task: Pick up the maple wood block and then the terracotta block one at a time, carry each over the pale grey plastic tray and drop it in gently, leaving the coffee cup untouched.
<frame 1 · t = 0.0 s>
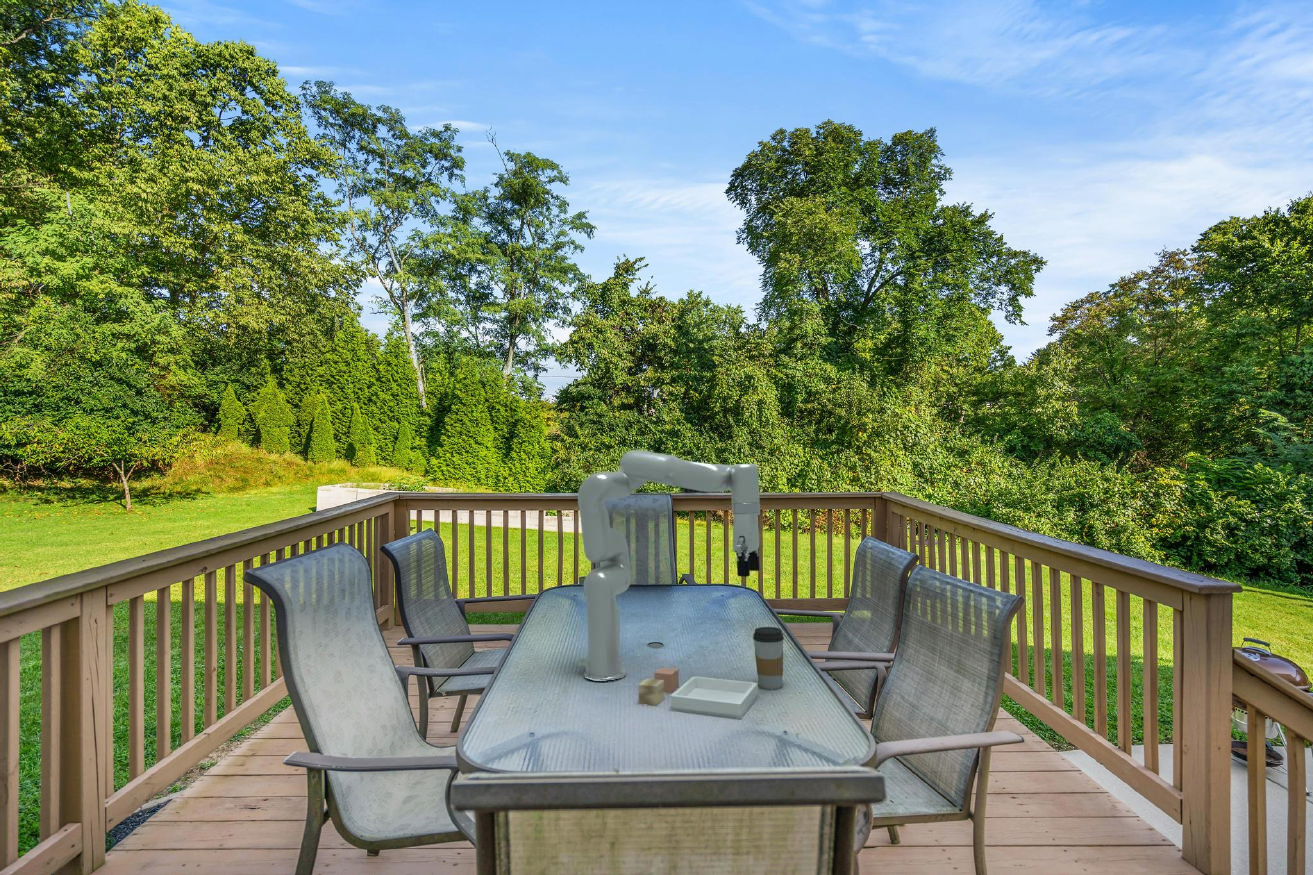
hand: (748, 573, 168), 31 cm above the table, tool pointing down, fingers open, 9 cm apart
coffee cup: (770, 686, 170), on the table
maple block: (651, 701, 161), on the table
tray: (715, 703, 159), on the table
terracotta block: (667, 689, 171), on the table
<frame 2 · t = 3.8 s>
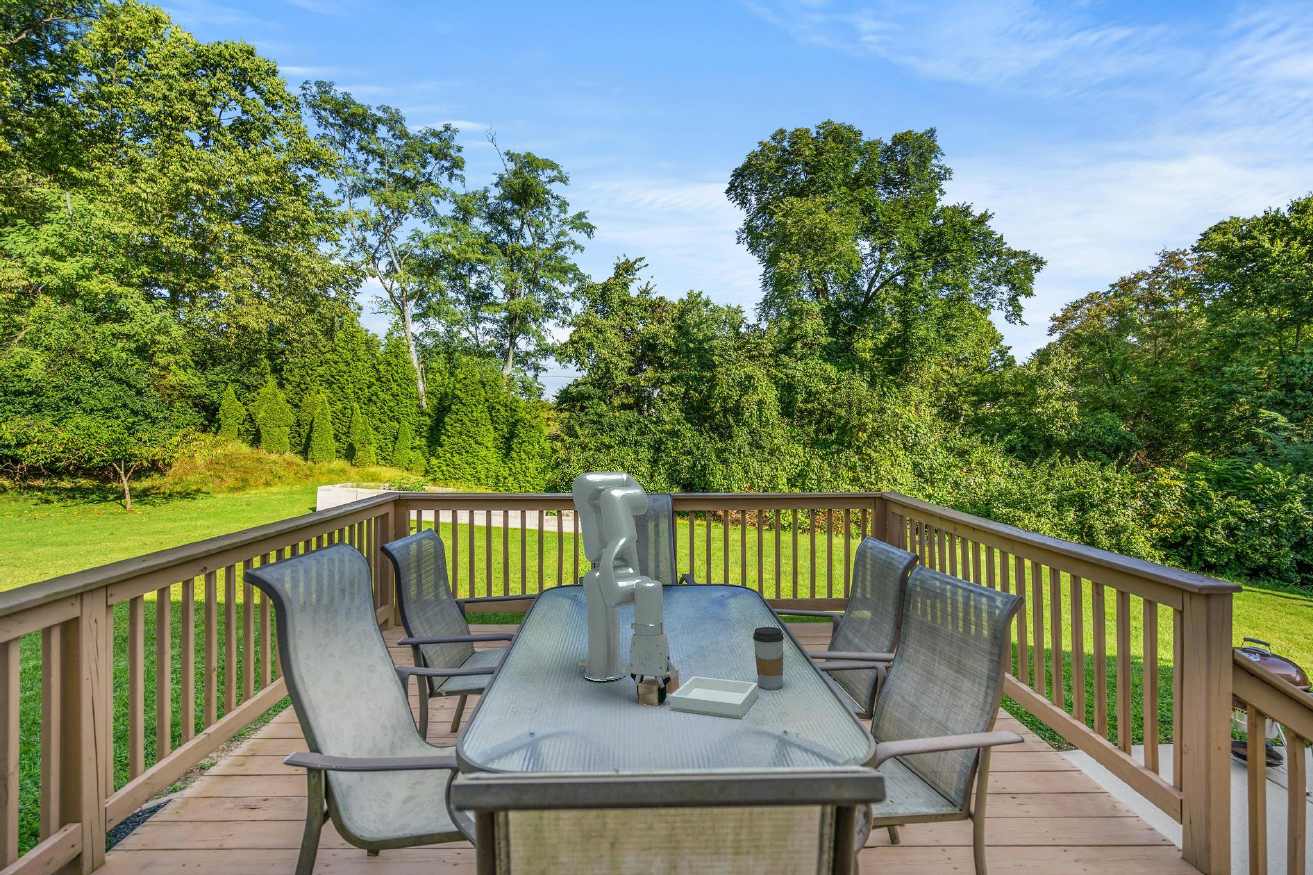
hand: (651, 699, 161), 0 cm above the table, tool pointing down, fingers closed on maple block, 5 cm apart
maple block: (651, 701, 161), on the table, touching gripper
everything else where it was.
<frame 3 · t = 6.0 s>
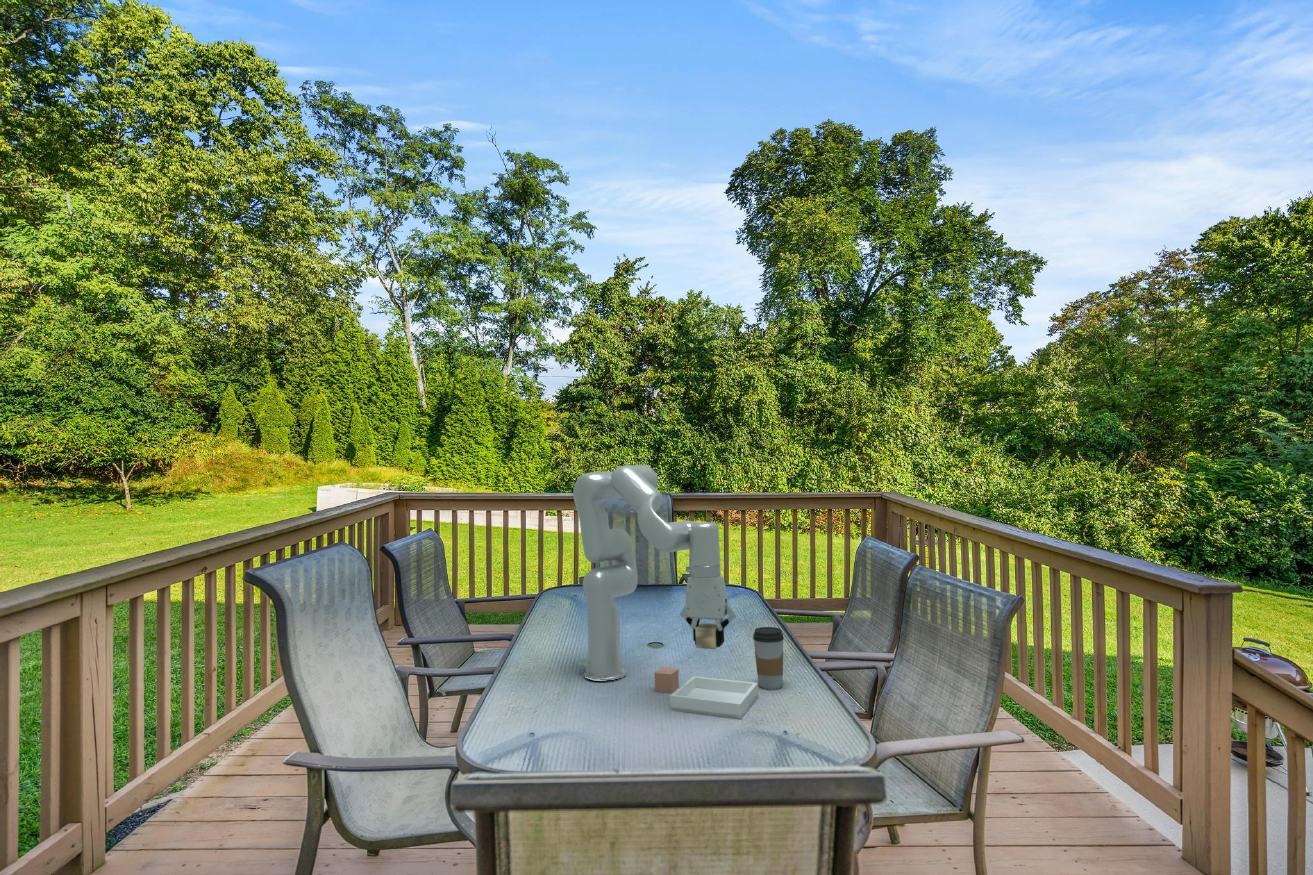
hand: (708, 644, 157), 16 cm above the table, tool pointing down, fingers closed on maple block, 5 cm apart
maple block: (708, 646, 157), point 15 cm above the table, touching gripper
everything else where it was.
when the fingers open (3 cm above the table, at t = 8.2 s): maple block drops 2 cm, resting on tray.
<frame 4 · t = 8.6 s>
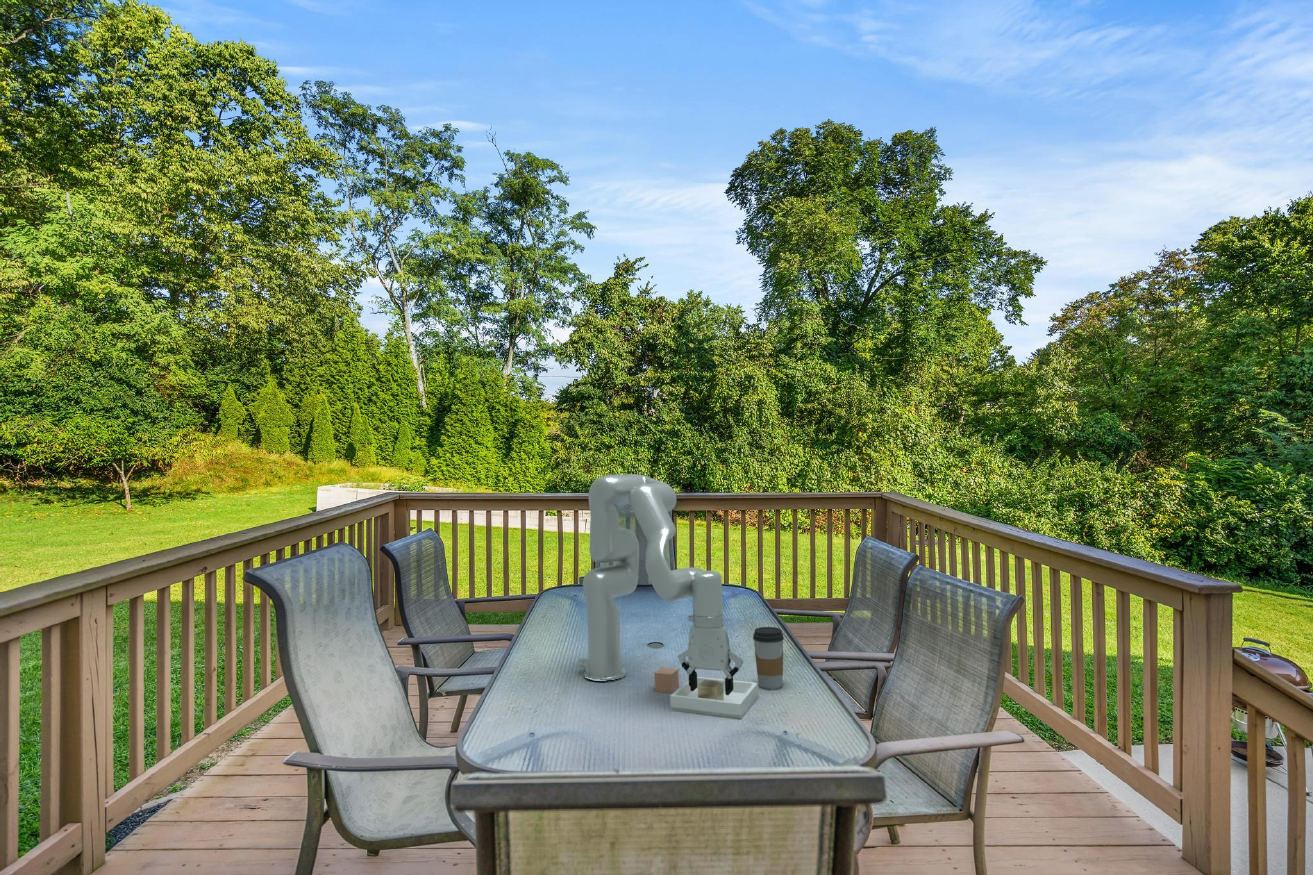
hand: (711, 691, 156), 4 cm above the table, tool pointing down, fingers open, 8 cm apart
maple block: (711, 704, 156), point 1 cm above the table, touching tray
everything else where it was.
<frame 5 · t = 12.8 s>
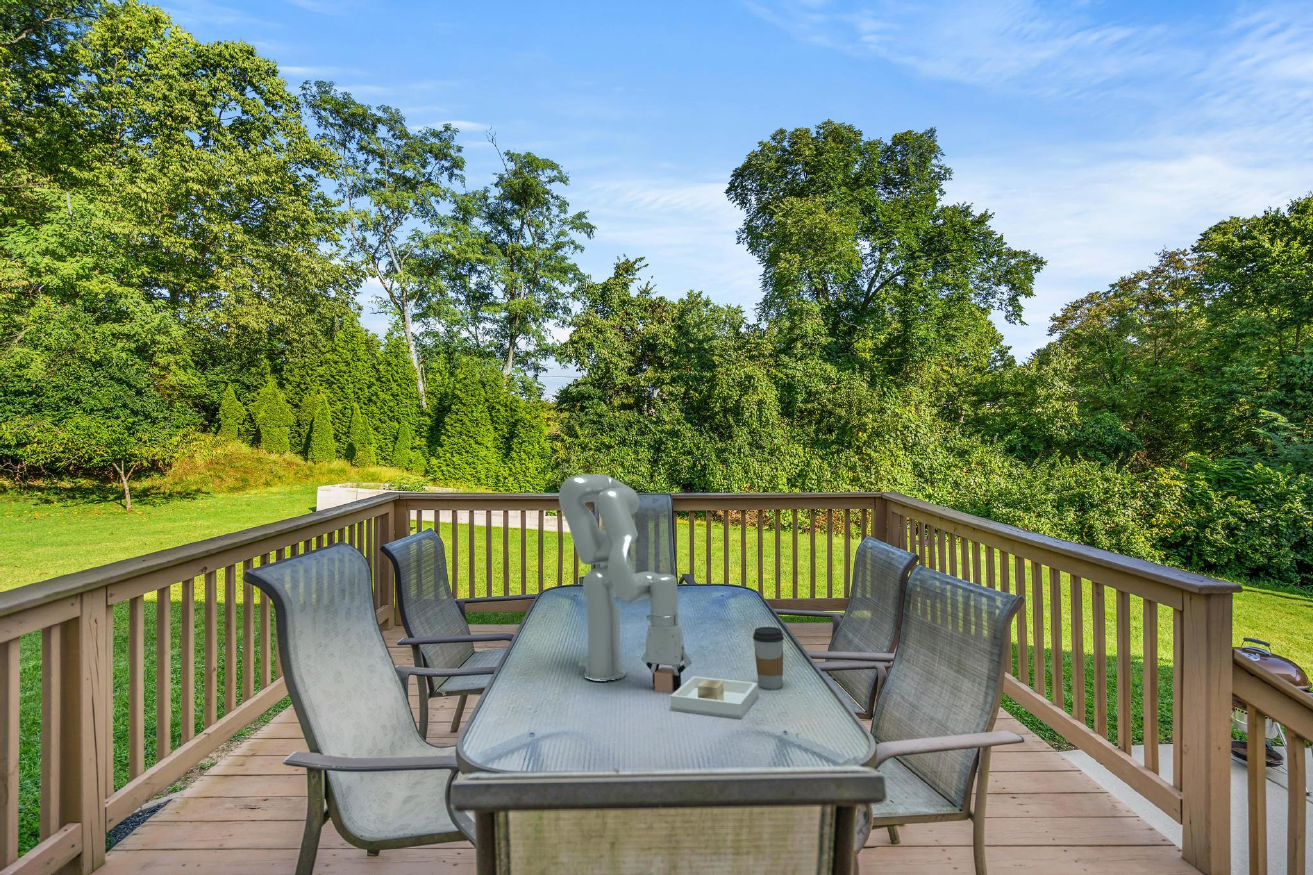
hand: (667, 687, 171), 0 cm above the table, tool pointing down, fingers closed on terracotta block, 5 cm apart
terracotta block: (667, 689, 171), on the table, touching gripper
everything else where it was.
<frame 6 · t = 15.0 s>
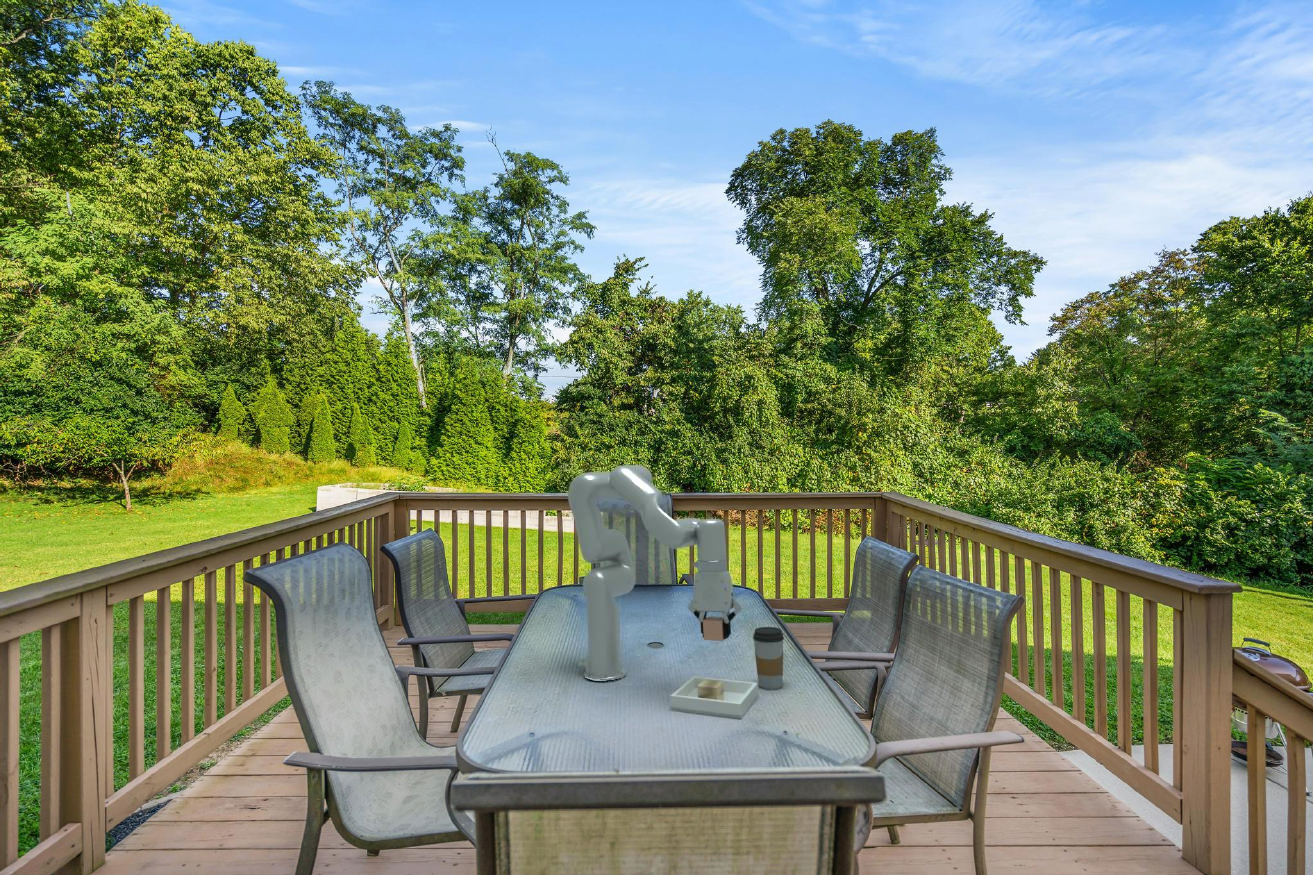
hand: (716, 636, 162), 16 cm above the table, tool pointing down, fingers closed on terracotta block, 5 cm apart
terracotta block: (716, 638, 162), point 16 cm above the table, touching gripper
everything else where it was.
when the fingers open (3 cm above the table, at t = 17.3 s): terracotta block drops 2 cm, resting on tray.
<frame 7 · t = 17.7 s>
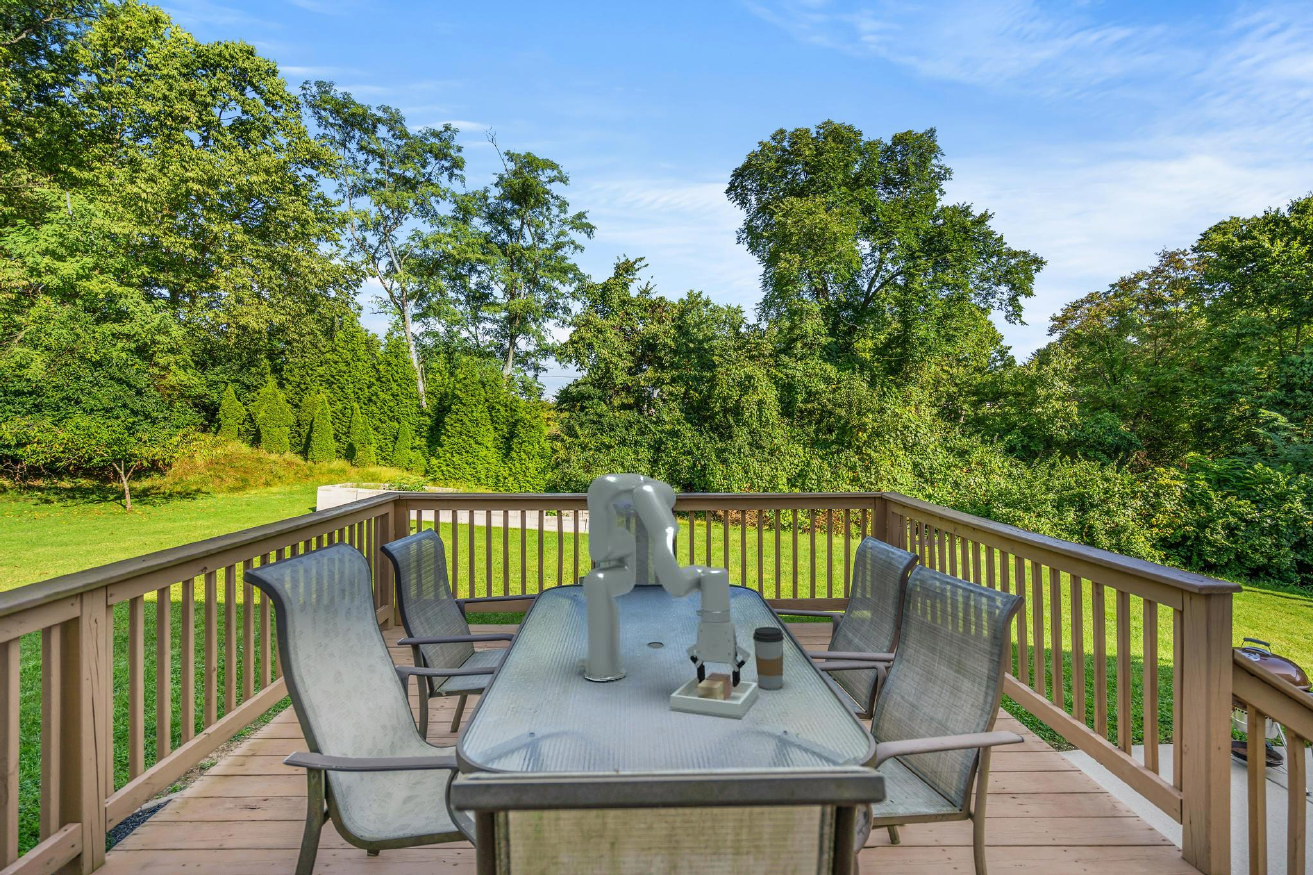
hand: (718, 683, 162), 4 cm above the table, tool pointing down, fingers open, 8 cm apart
terracotta block: (719, 696, 161), point 1 cm above the table, touching tray
everything else where it was.
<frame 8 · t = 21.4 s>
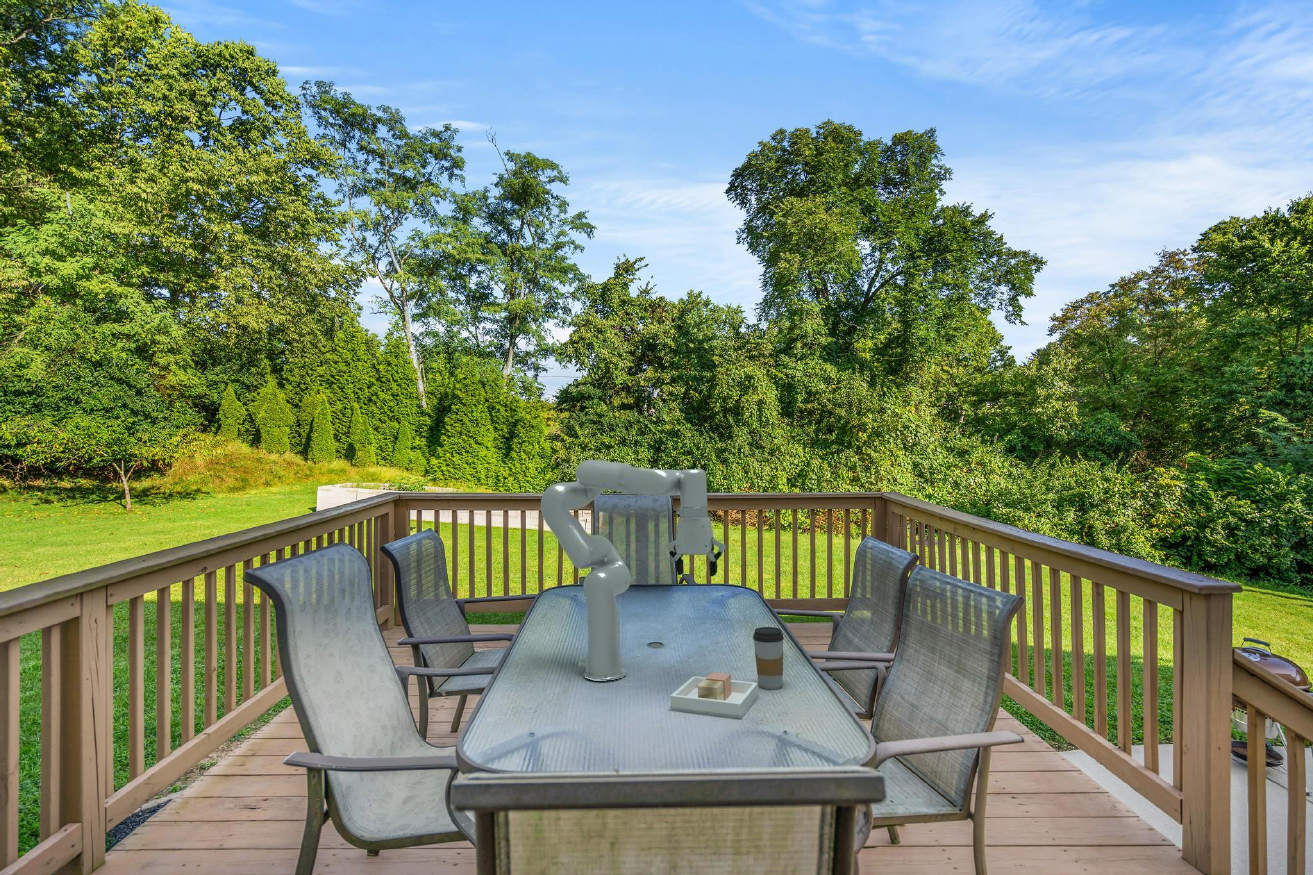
hand: (696, 574, 174), 30 cm above the table, tool pointing down, fingers open, 9 cm apart
nothing on the table moved.
at the end: maple block inside the target area on the tray (3.0 cm from its centre), point 0.8 cm above the tray's base; terracotta block inside the target area on the tray (3.0 cm from its centre), point 0.8 cm above the tray's base; coffee cup moved 0.2 cm from its start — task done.
